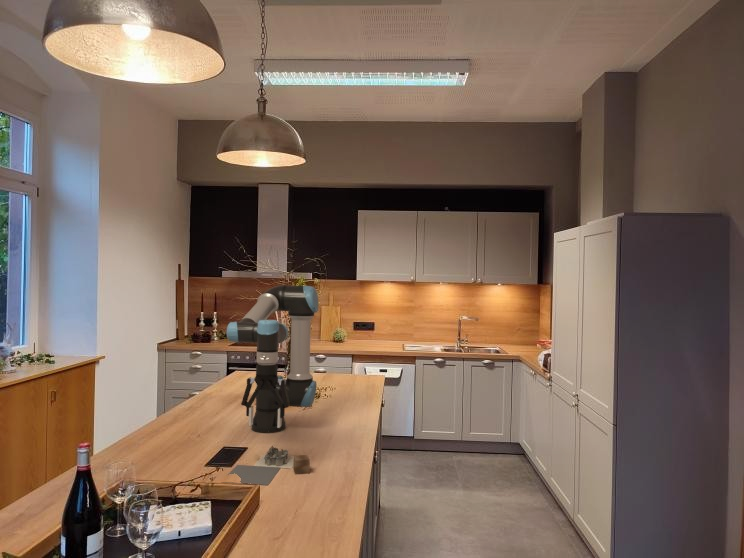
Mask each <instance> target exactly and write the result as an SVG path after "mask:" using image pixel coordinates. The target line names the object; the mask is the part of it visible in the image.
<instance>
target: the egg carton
mask: <svg viewBox="0 0 744 558" xmlns="http://www.w3.org/2000/svg"><path fill="white" fill-rule="evenodd" d="M289 451H290V449H286V448H285V449H283V448H282V449H281V450H279V449H278V447H274V445H271V446H270V447H269V450H268V451H267V452H266V453H265V454H264V455H265V458H264V459H265V464H266V465H277V466H279V465H283V462H285V461H286V459H287V458H288V456H289Z"/></svg>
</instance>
